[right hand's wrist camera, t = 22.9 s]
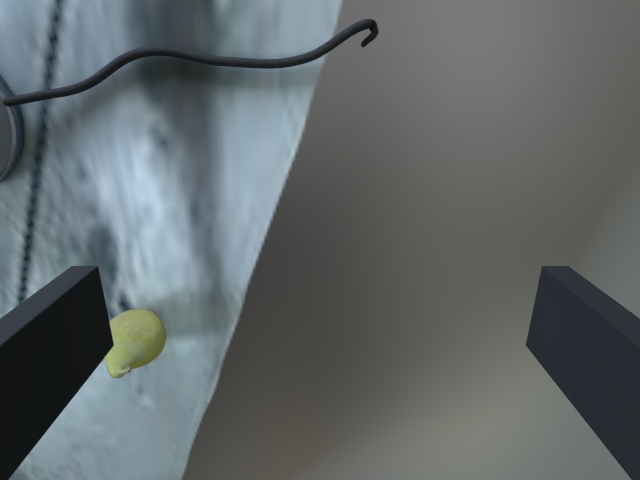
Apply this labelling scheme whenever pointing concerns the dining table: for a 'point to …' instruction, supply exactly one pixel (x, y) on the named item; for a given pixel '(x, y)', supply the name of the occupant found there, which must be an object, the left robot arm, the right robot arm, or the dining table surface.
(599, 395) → the right robot arm
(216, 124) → the dining table surface
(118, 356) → the fruit
